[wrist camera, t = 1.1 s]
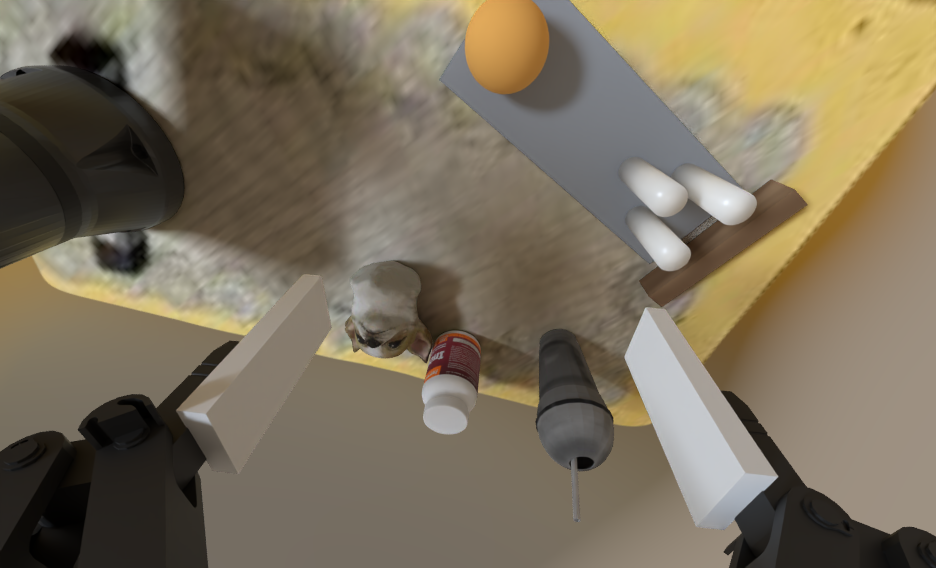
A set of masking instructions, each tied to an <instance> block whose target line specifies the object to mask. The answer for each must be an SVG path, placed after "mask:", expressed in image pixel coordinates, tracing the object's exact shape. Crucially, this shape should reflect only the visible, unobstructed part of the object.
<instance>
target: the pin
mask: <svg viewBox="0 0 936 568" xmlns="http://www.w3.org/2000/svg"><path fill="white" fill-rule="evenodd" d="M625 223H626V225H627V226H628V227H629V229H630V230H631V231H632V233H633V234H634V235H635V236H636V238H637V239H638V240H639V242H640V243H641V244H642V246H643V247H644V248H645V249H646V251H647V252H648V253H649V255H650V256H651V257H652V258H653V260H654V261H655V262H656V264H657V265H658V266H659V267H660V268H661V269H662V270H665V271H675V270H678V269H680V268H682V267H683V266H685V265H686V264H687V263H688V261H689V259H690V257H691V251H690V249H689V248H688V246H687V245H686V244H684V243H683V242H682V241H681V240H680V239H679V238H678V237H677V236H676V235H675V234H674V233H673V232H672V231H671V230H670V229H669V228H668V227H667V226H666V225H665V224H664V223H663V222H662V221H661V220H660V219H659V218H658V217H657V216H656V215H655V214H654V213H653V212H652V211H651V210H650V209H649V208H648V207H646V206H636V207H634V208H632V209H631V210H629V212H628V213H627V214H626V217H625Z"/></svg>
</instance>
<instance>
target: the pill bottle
mask: <svg viewBox="0 0 936 568" xmlns="http://www.w3.org/2000/svg"><path fill="white" fill-rule="evenodd" d="M480 359H481V347H480V344H479V342H478V341H477V340H476V338H475V337H473V336H472V335H470V334H469V333H466V332H463V331H448V332H445V333H443V334H441V335H440V336H439V337H438V338H437V339H436V341H435V343H434V346H433V350H432V354H431V358H430V362H429V365H428V370H427V373H426V377H425V381H424V385H423V390H422V399H423V402H424V403H425V410H424V415H423V419H424V422H425V424H426V425H427V426H428V427H429V428H430V429H432V430H433V431H436V432H438V433H442V434H456V433H459V432H461V431H463V430H464V429H465V428H466V426H467V424H468V418H469V412H470V411H471V410H472V409H473V408H474V407H475V404H476V401H477V393H478V382H479V371H480Z"/></svg>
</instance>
